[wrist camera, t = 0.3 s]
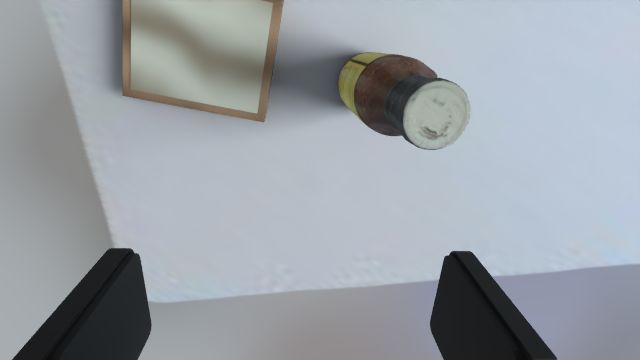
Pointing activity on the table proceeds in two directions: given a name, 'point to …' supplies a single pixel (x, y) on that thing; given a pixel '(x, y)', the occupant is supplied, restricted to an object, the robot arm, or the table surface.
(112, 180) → the table surface
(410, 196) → the table surface
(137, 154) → the table surface
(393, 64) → the sauce bottle
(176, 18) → the wooden tray
